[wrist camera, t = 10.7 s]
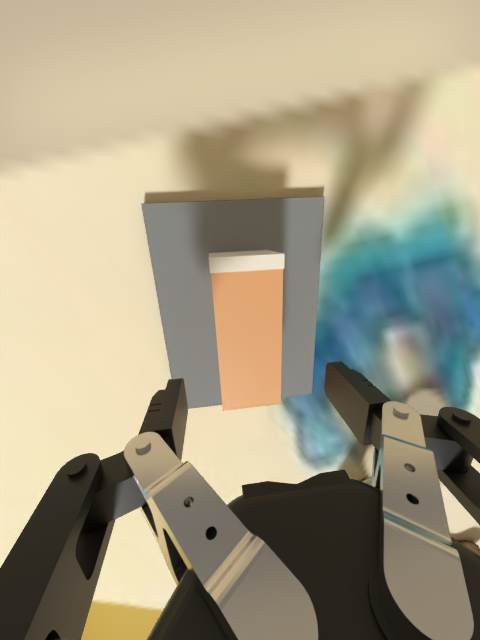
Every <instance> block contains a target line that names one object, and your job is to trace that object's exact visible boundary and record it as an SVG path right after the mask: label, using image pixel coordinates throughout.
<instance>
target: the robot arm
mask: <svg viewBox="0 0 480 640" xmlns="http://www.w3.org/2000/svg"><path fill="white" fill-rule="evenodd" d="M325 393H326V396H327V397H328V399H329V400H330V402H331V403H332V404H333V406H334V407H335V409H336V410H337V411H338V413H339V414H340V415H341V417H342V418H343V419H344V421H345V422H346V424H347V425H348V426H349V428H350V429H351V430H352V432H353V433H354V435H355V436H356V437H357V439H358V440H359V441H360V443H361V444H362V445H369V444H373V445H374V447H375V449H374V456H373V472H372V486H371V485H369V484H367V483H364V482H361V481H358V480H353V479H350V478H349V477H348V475H347V473H346V471H345V470H339V471H332V472H326V473H320V474H318V475H316V476H313V477H311V478H309V479H307V480H305V481H303V482H301V483H299V484H288V483H279V482H270V481H267V482H260V483H253V484H247V485H242V492H243V495H241V496H239V497H237V498H236V499H234V500H233V501H231V502H230V503H229V504H228V505H226V504H225V503H224V501H223V500H222V499H221V498H220V497H219V496H218V494H217V493H216V492H215V491H214V490H213V489H212V488H211V486H210V485H209V484H208V483H207V482H206V481H205V479H204V478H203V477H202V476H201V475H200V474H199V472H198V471H197V470H196V469H195V468H194V467H193V465H192V464H191V463H190V462H188V461H186V462H185V463H184V464H183V463H182V462H181V458H182V451H183V443H184V436H185V429H186V421H187V414H188V405H187V397H186V390H185V384H184V379H183V378H179V379H169V380H168V383H167V387H166V390H159V391H158V392H157V393H156V394H155V395H154V396H153V397H152V399H151V402H150V406H149V407H148V410H147V413H146V415H145V418H144V421H143V424H142V426H141V429H140V432H139V434H138V435H137V436H135V437H134V438H133V439H131V440H130V441H129V442H128V444H127V445H126V447H125V449H124V451H122V452H121V453H118V454H116V455H113V456H111V457H108V458H106V459H103V460H100V459H99V457H98V456H97V455H96V454H93V453H88V454H83V455H80V456H77V457H75V458H73V459H72V460H70V461H69V462H67V463H66V464H65V465H64V466H63V467H62V468H61V469H60V470H59V471H58V472H57V474H56V476H55V477H54V479H53V481H52V482H51V484H50V486H49V487H48V489H47V491H46V492H45V494H44V496H43V497H42V499H41V501H40V502H39V504H38V506H37V507H36V509H35V511H34V513H33V514H32V516H31V518H30V519H29V521H28V523H27V524H26V526H25V528H24V529H23V531H22V533H21V534H20V536H19V538H18V539H17V541H16V543H15V544H14V546H13V548H12V549H11V551H10V553H9V555H8V556H7V558H6V560H5V561H4V563H3V565H2V566H1V568H0V640H81V637H82V634H83V630H84V627H85V623H86V619H87V616H88V612H89V609H90V606H91V602H92V599H93V595H94V592H95V588H96V585H97V582H98V578H99V575H100V571H101V568H102V564H103V561H104V557H105V554H106V550H107V547H108V543H109V540H110V536H111V533H112V529H113V526H114V523H115V519H117V518H119V517H121V516H123V515H125V514H127V513H129V512H131V511H133V510H135V509H137V508H139V507H140V509H141V511H142V513H143V515H144V517H145V519H146V521H147V523H148V525H149V527H150V529H151V531H152V533H153V535H154V537H155V538H156V540H157V542H158V544H159V546H160V549H161V551H162V554H163V556H164V559H165V561H166V564H167V566H168V568H169V570H170V572H171V574H172V576H173V578H174V580H175V582H176V584H177V587H176V589H175V591H174V592H173V594H172V596H171V598H170V599H169V601H168V603H167V605H166V606H165V608H164V610H163V612H162V614H161V615H160V617H159V619H158V621H157V623H156V624H155V626H154V628H153V629H152V631H151V633H150V635H149V636H148V638H147V640H480V556H479V555H477V554H476V553H474V552H473V551H471V550H470V549H468V548H467V547H465V546H464V545H462V544H461V543H459V542H458V541H456V540H455V539H453V538H452V537H450V532H449V527H448V522H447V518H446V513H445V508H444V503H443V498H442V493H441V488H440V483H439V479H440V481H441V482H442V483H443V484H444V485H445V486H446V487H447V489H448V490H449V491H450V492H451V493H452V494H453V495H454V496H455V498H456V499H457V500H458V501H459V502H460V503H461V504H462V506H463V507H464V508H465V509H466V510H467V511H468V512H469V513H470V515H471V516H472V517H473V518H474V519H475V520H476V521H477V523H478V524H479V525H480V473H479V472H478V471H477V470H475V469H474V468H473V467H472V466H471V462H472V460H473V458H474V459H475V460H476V461H478V462H479V463H480V419H479V418H478V417H476V416H475V415H473V414H471V413H469V412H467V411H464V410H462V409H458V408H453V407H444V408H441V409H440V411H439V415H438V416H429V415H420V414H419V413H418V412H417V411H416V410H415V409H414V408H412V407H410V406H409V405H406V404H404V403H401V402H395V401H391V400H390V399H389V398H388V397H386V396H385V395H384V394H383V393H382V392H381V391H380V390H379V389H378V388H376V387H375V386H373V384H372V383H371V382H370V381H368V379H366V378H365V377H364V376H363V375H362V374H361V373H359V372H357V371H355V370H353V369H349V368H348V367H347V366H346V365H345V364H344V363H343V362H332V363H327V365H326V375H325ZM438 478H439V479H438Z"/></svg>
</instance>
